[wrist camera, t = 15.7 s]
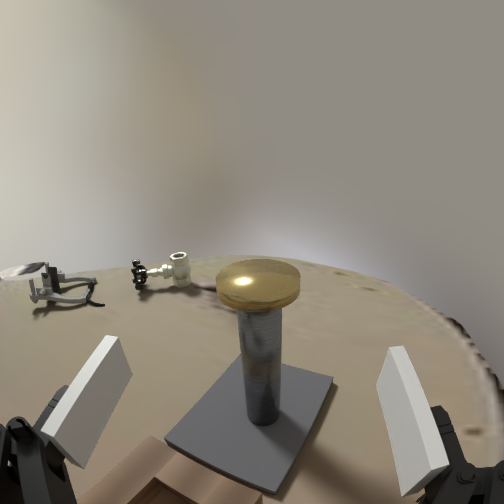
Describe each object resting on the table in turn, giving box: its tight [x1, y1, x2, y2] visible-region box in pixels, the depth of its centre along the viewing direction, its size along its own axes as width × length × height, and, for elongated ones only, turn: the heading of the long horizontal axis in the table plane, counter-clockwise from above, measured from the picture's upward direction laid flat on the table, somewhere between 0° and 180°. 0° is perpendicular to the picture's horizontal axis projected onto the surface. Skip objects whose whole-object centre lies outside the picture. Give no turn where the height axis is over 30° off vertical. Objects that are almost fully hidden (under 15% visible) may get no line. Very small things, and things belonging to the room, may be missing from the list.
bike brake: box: [29, 262, 105, 306], centre depth 56 cm, size 14×7×20 cm
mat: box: [164, 354, 333, 495], centre depth 29 cm, size 13×17×1 cm
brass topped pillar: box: [216, 259, 300, 426], centre depth 25 cm, size 6×6×17 cm
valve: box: [131, 252, 192, 290], centre depth 59 cm, size 7×7×12 cm
